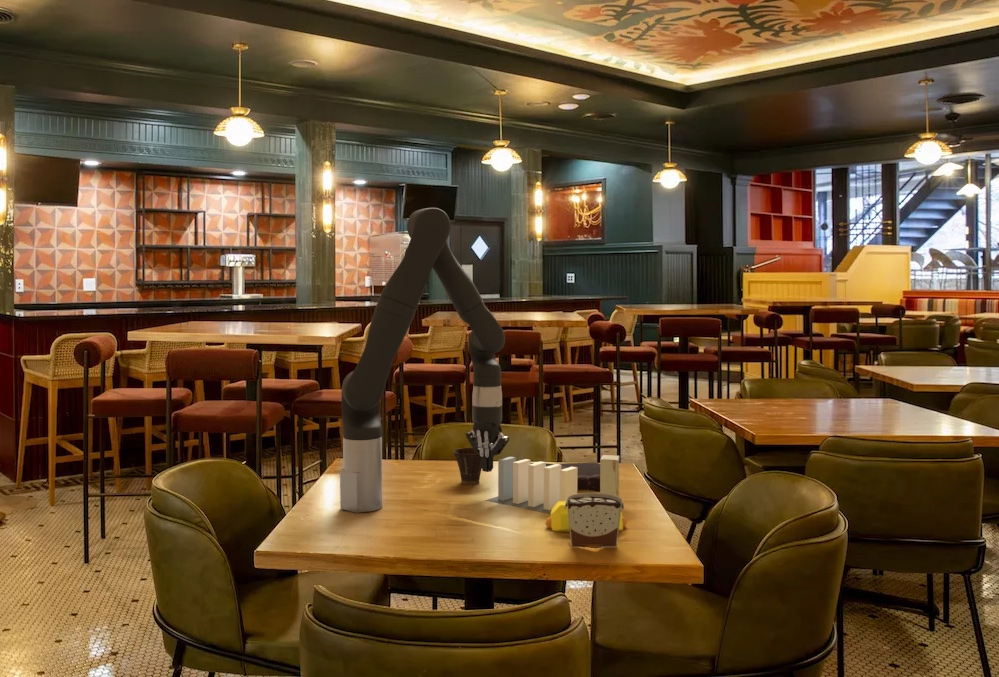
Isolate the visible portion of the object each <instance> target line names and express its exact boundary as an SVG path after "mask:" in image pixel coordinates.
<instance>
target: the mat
mask: <svg viewBox="0 0 999 677" xmlns="http://www.w3.org/2000/svg"><path fill="white" fill-rule="evenodd" d="M485 501H486V502H490V503H496V504H499V505H505V506H511V507H514V508H519V509H524V510H530V511H534V512H538V513H543V514H549V515H551V510H552V509H551V510H546V509H544V503H543V504H541V505H538V506H535V507H531V506H528V501H525V502H522V503H519V504H517V503H513V498H510V499H507V500H504V501H502V500H498V495H497V496H495V497H492V498H491V497H490V498H488V499H486V500H485Z"/></svg>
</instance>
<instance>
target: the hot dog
mask: <svg viewBox="0 0 999 677" xmlns="http://www.w3.org/2000/svg"><path fill="white" fill-rule="evenodd" d="M565 503H566V501H558V502H557V503H556V504H555V506H554V507H553V508H552V510H551V514H549V515H550V516H549V517H547V518H546V522H545V525H546V527H547V529H550V530H552V532H557V533H558V532H559V533H561V532H562V533H563V532H564V533H566V532H567V533H570V528H569V518H568V508H567V507H566V509H565V510H564V508H565ZM626 526H627V520H626V518H625V517H624V516H623V512H622V511H621V515H620V524H619V532H621V531H623V530H624V528H626Z"/></svg>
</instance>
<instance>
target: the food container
mask: <svg viewBox="0 0 999 677" xmlns="http://www.w3.org/2000/svg"><path fill="white" fill-rule="evenodd" d="M566 507H567V508H568V518H569V528H570V532H569V536H570V545H571V547H588V548H589V547H591V548H593V549H594V547H592V546H591V545H597V547H596V548H598V549H599V548H601V549H602V548H603V549H605V548H617V547H618V541H619V539H618V538H619V532H620V531H619V524H620V515H621V512H622V509H623V510H625V505H624V502H623V499H622V498H621V497H620V496H619V497H617V496H614V495H610V494H603V493H600V492H583V493H577V494H575V495H571V496H569V497H568V498H567V501H566V503H565V508H564V510H565V509H566ZM589 545H590V546H589ZM571 547H570V548H571ZM588 548H587V549H588ZM591 548H590V549H591Z"/></svg>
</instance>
